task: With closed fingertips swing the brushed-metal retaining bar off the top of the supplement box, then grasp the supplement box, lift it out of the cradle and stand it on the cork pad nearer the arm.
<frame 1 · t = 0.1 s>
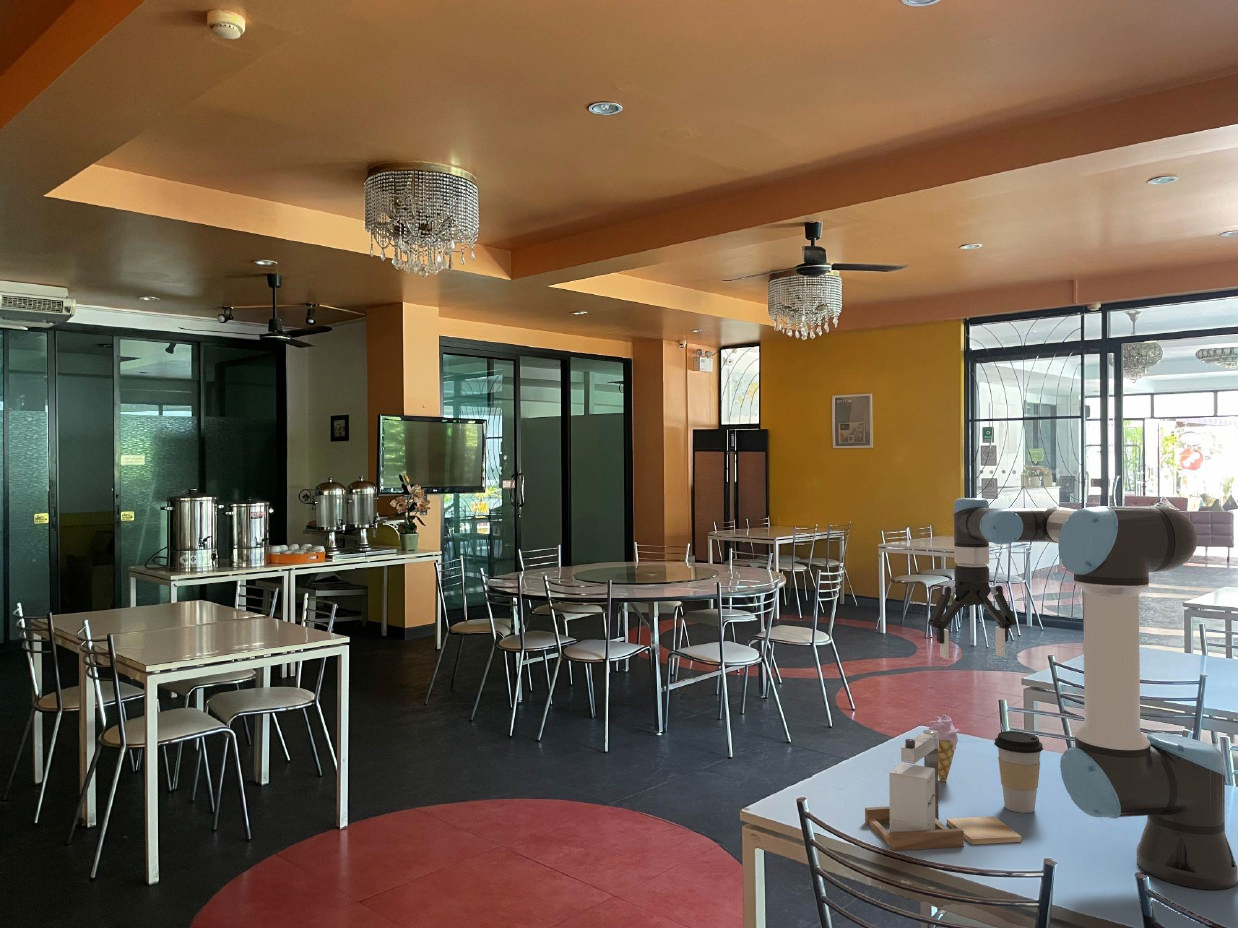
hand: (972, 656, 205), 28 cm above the table, fingers open, 13 cm apart
ice cream cone: (944, 781, 203), on the table
supplement box: (912, 835, 174), resting in cradle
bar: (920, 743, 177), point 17 cm above the table, hinge at 0.0°
cradle: (912, 833, 174), on the table
pad: (983, 832, 174), on the table
coffee cup: (1019, 808, 187), on the table
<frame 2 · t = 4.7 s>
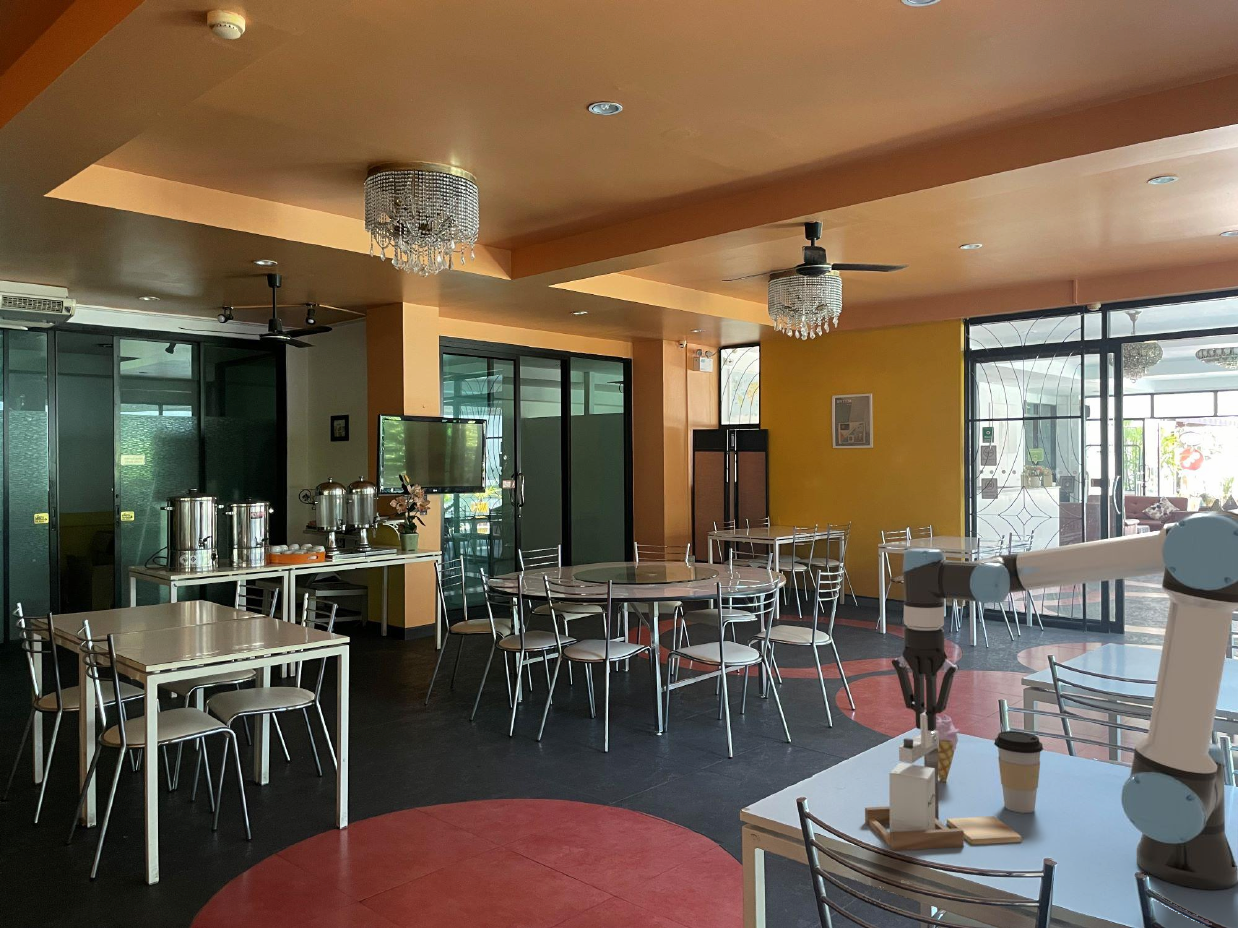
hand: (926, 745, 175), 17 cm above the table, fingers closed
bar: (919, 743, 178), point 17 cm above the table, hinge at -1.9°, touching gripper
everything else where it was.
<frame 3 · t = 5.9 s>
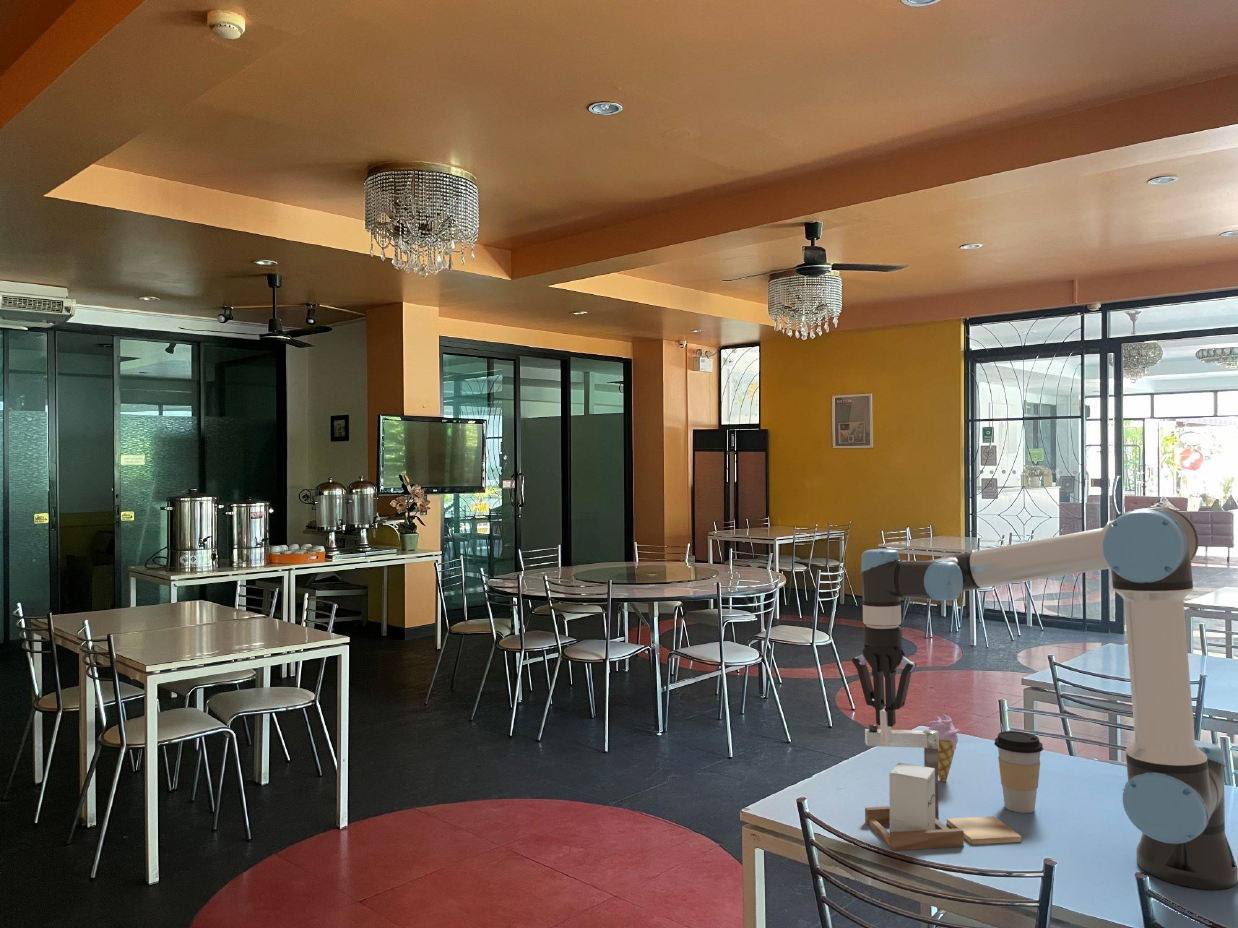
hand: (886, 741, 180), 16 cm above the table, fingers closed
bar: (902, 735, 183), point 17 cm above the table, hinge at -58.2°, touching gripper
everything else where it was.
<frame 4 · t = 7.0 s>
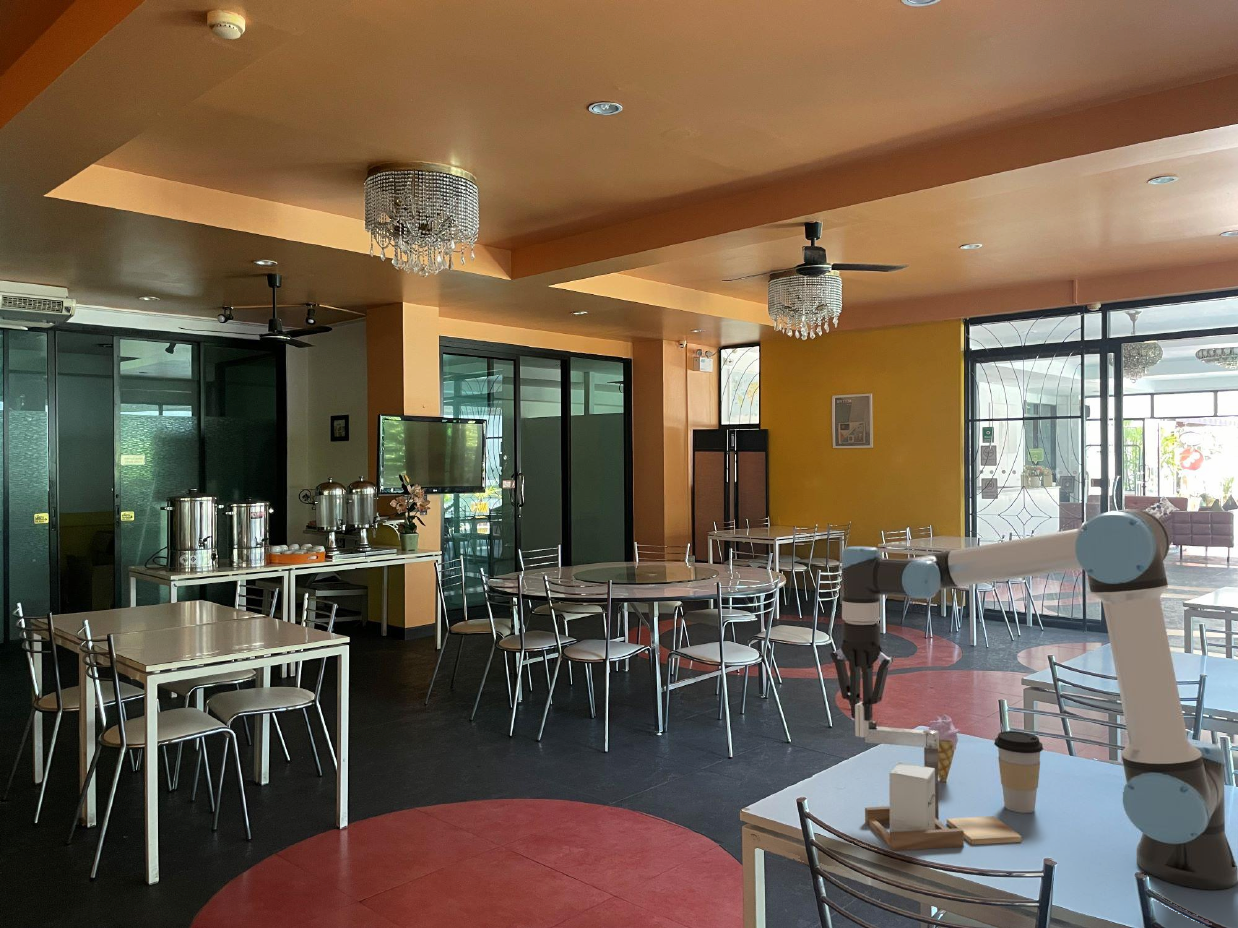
hand: (862, 734, 184), 16 cm above the table, fingers closed
bar: (901, 734, 184), point 17 cm above the table, hinge at -69.3°, touching gripper
everything else where it was.
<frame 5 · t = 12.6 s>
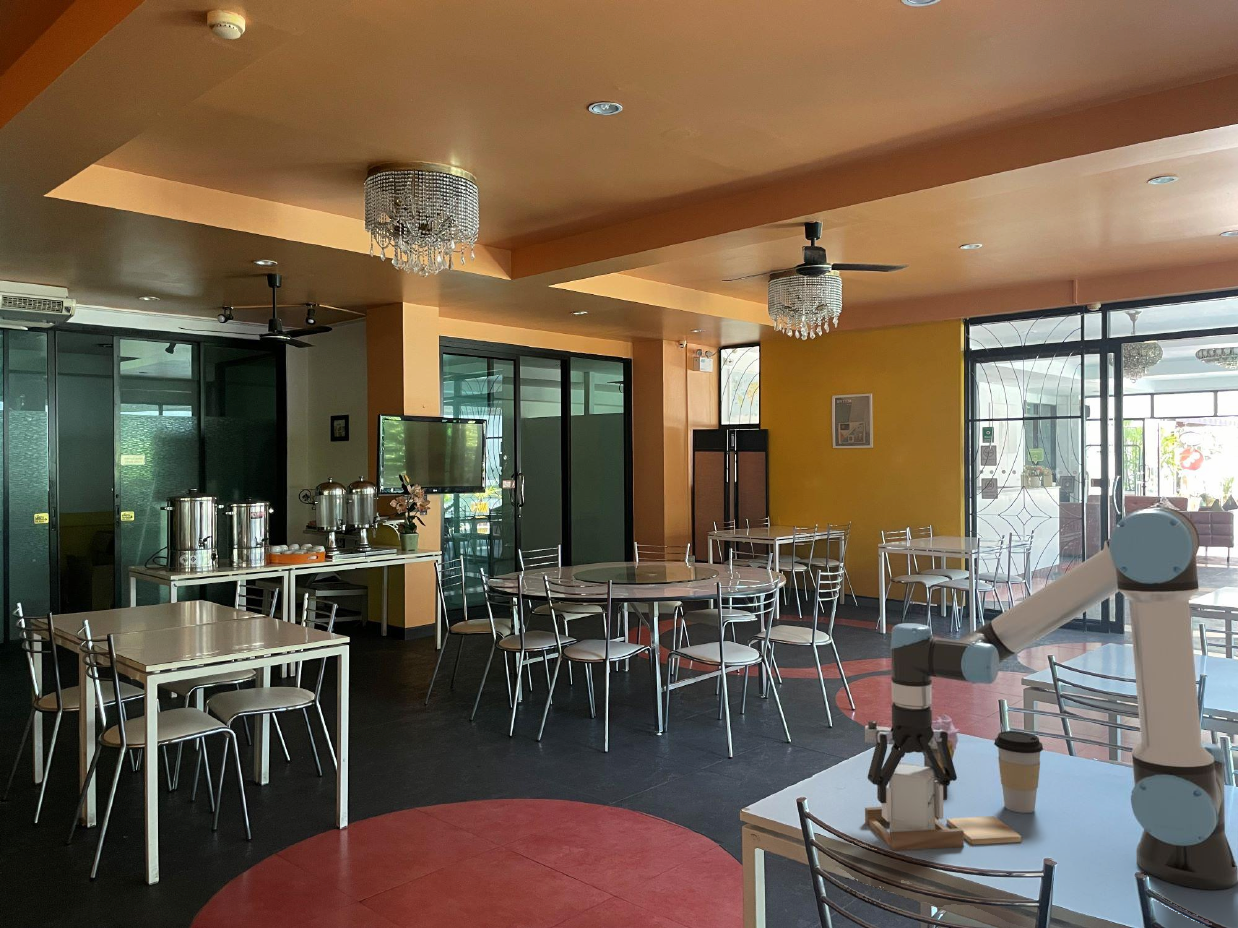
hand: (912, 817, 174), 3 cm above the table, fingers closed on supplement box, 10 cm apart
supplement box: (912, 834, 174), resting in cradle, touching gripper
bar: (901, 733, 184), point 17 cm above the table, hinge at -69.7°
everything else where it was.
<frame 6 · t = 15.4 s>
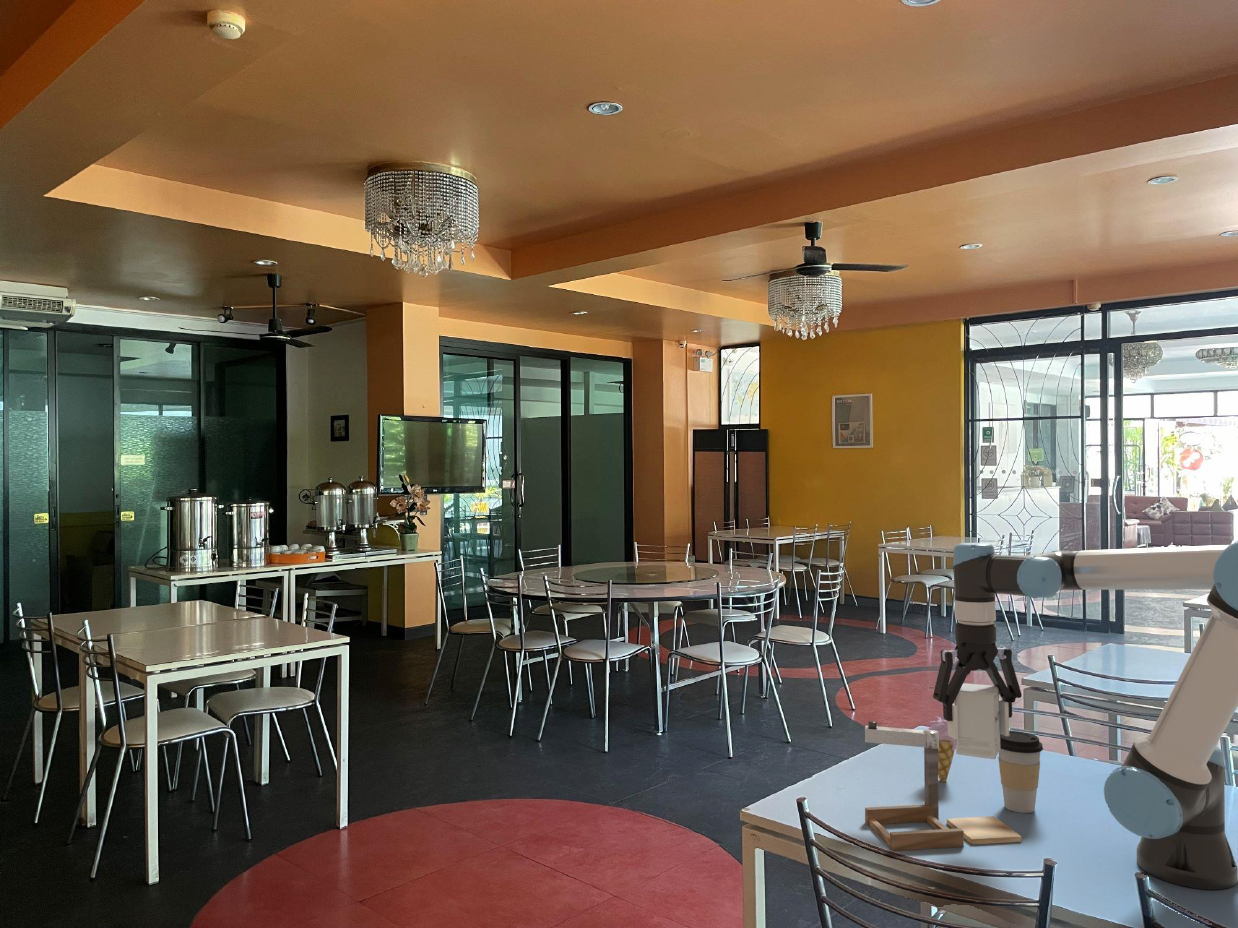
hand: (978, 735, 174), 19 cm above the table, fingers closed on supplement box, 10 cm apart
supplement box: (978, 753, 174), point 16 cm above the table, touching gripper
everything else where it was.
when the fingers open (6 cm above the table, at t = 18.6 s): supplement box drops 2 cm, resting on pad.
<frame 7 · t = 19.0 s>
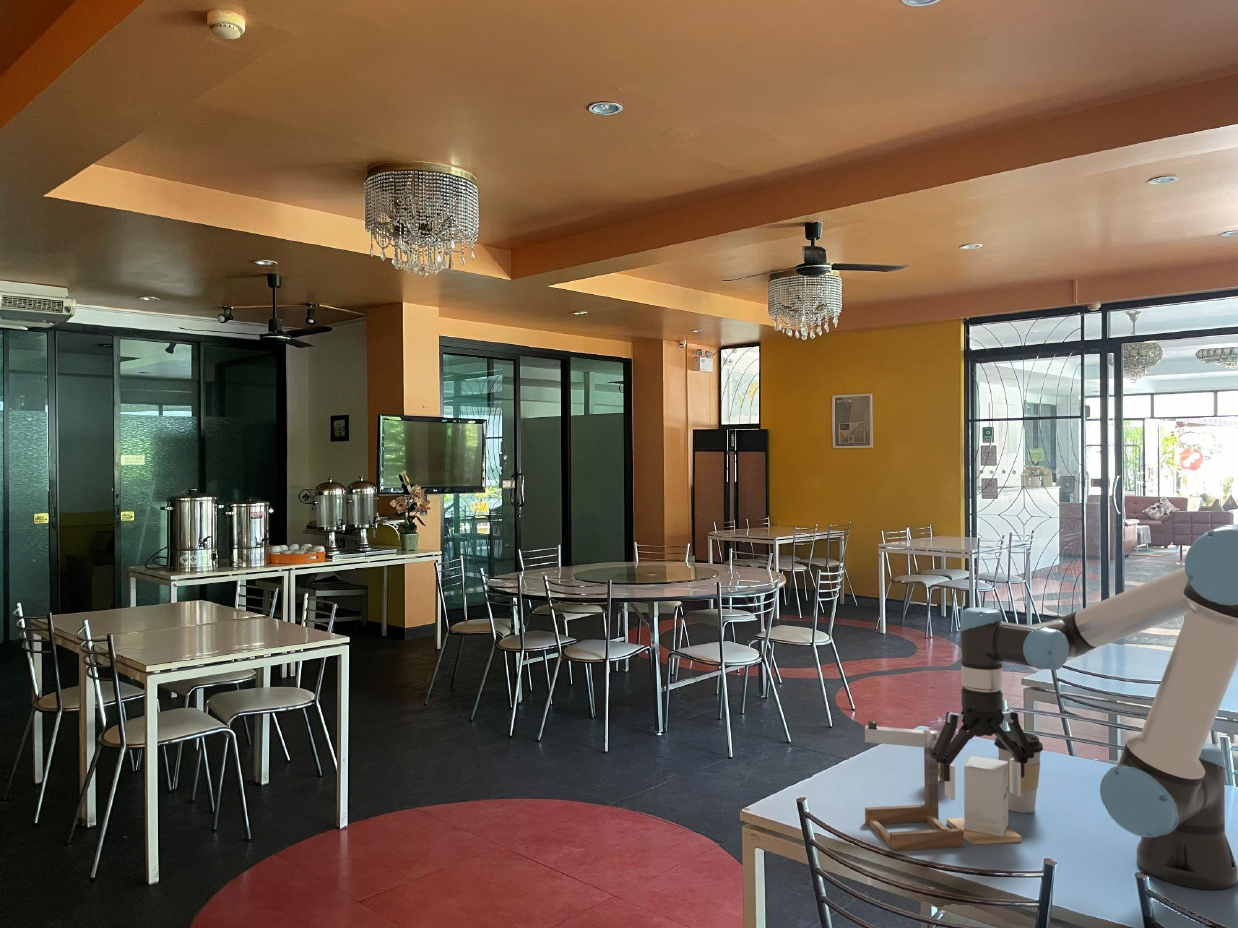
hand: (982, 795, 174), 7 cm above the table, fingers open, 13 cm apart
supplement box: (986, 828, 174), point 1 cm above the table, touching pad
everything else where it was.
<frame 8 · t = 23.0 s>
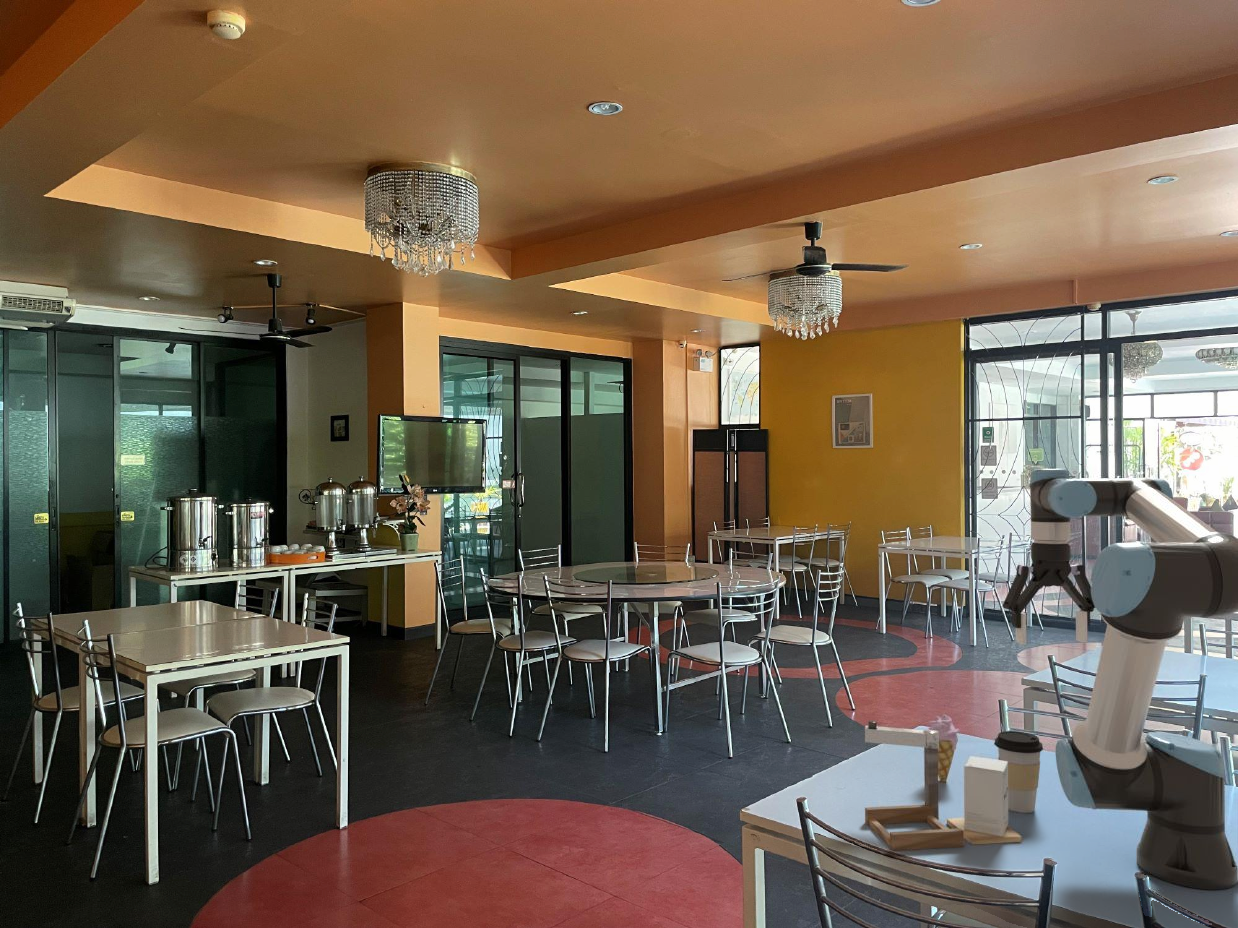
hand: (1051, 642, 187), 35 cm above the table, fingers open, 13 cm apart
nothing on the table moved.
at the end: bar at -70° (first picture: +0°); supplement box inside the target area on the pad (0.7 cm from its centre), point 0.8 cm above the pad's base; supplement box tilted 0° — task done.
